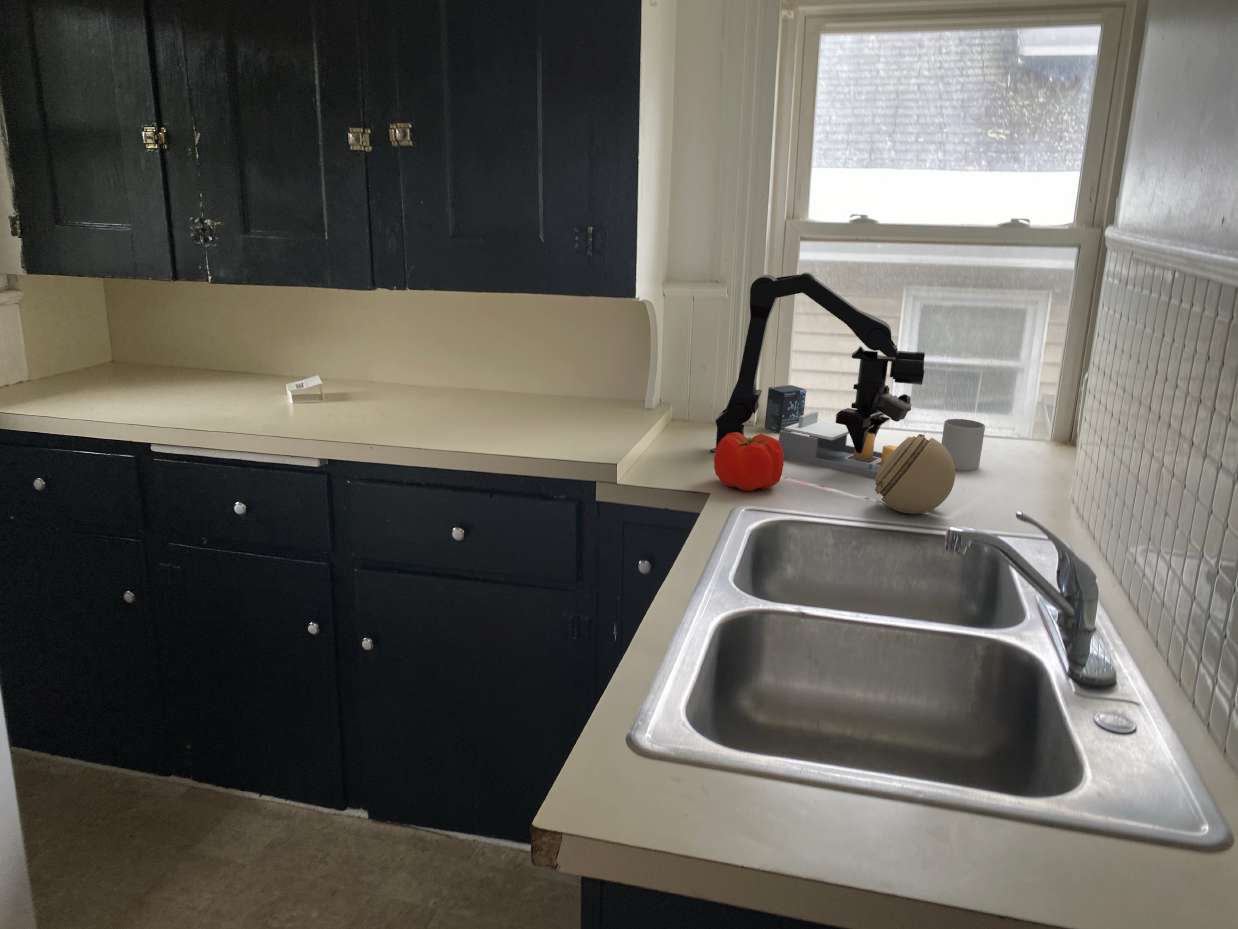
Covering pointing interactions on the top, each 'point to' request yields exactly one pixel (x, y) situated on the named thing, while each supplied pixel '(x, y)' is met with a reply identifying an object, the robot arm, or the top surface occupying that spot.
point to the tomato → (749, 461)
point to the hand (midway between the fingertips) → (863, 451)
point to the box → (784, 407)
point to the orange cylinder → (887, 453)
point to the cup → (963, 442)
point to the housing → (828, 453)
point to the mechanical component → (916, 476)
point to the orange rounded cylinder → (867, 447)
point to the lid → (818, 427)
